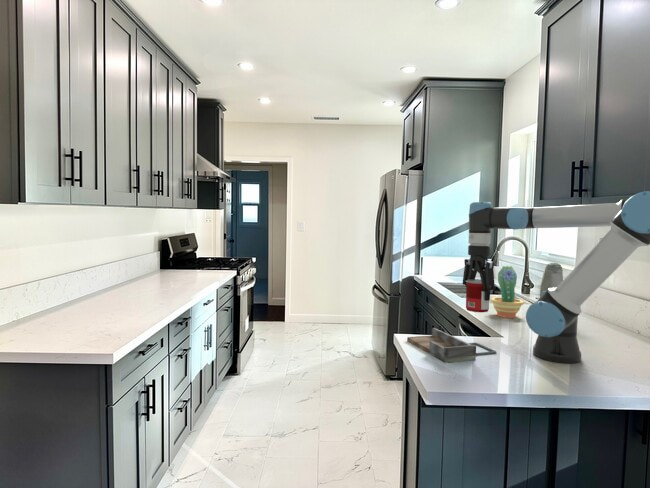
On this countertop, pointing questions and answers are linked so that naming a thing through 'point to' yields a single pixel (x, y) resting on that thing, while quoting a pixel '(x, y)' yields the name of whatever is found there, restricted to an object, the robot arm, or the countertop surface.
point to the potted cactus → (507, 294)
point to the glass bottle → (551, 277)
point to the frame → (484, 348)
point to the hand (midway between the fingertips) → (477, 306)
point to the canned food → (474, 295)
